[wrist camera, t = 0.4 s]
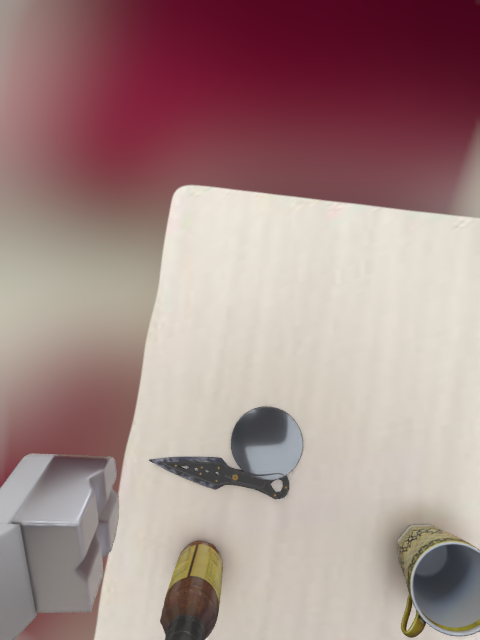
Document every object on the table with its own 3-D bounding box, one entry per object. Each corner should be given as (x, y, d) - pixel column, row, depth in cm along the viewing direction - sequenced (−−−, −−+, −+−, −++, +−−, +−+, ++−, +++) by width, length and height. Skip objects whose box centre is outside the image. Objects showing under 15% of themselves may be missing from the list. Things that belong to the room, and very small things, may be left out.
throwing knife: (286, 503, 58) (286, 504, 57) (145, 475, 59) (144, 476, 59) (291, 471, 58) (291, 472, 58) (152, 444, 60) (150, 444, 59)
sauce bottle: (180, 587, 57) (138, 705, 38) (177, 539, 58) (135, 631, 38) (227, 585, 57) (211, 702, 37) (224, 537, 58) (207, 627, 38)
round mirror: (316, 455, 58) (316, 456, 58) (255, 493, 58) (255, 494, 58) (278, 393, 59) (278, 393, 59) (217, 430, 59) (217, 431, 59)
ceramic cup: (415, 494, 57) (448, 522, 47) (474, 546, 56) (521, 586, 46) (354, 568, 57) (374, 612, 47) (412, 622, 56) (446, 678, 46)
